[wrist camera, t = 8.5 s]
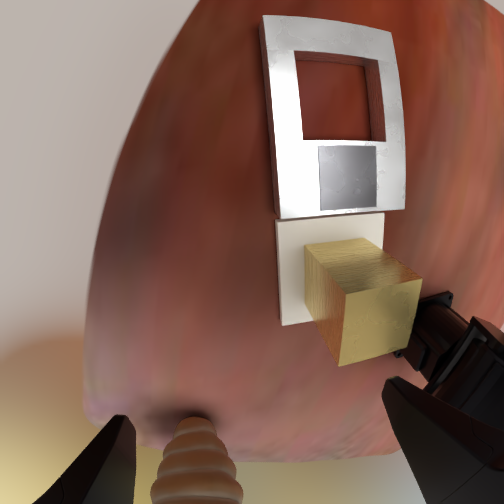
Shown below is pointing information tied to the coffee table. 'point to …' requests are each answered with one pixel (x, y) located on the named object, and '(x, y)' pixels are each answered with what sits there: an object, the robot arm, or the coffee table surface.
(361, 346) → the brass metal cube
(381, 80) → the white flat frame
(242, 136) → the coffee table surface
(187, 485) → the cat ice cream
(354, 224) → the coaster
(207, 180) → the coffee table surface
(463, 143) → the coffee table surface
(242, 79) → the coffee table surface
